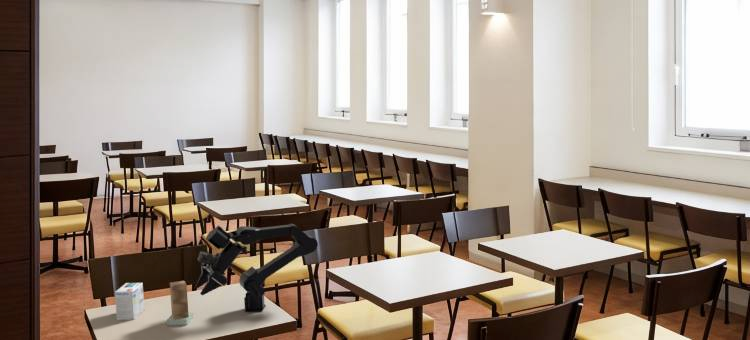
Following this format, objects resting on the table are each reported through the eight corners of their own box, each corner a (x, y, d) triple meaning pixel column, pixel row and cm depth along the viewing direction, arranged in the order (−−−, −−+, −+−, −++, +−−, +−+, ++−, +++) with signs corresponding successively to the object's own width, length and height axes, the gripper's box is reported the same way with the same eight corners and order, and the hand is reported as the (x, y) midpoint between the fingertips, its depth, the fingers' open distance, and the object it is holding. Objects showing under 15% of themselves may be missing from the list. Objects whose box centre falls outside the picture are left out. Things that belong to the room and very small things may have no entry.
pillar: (186, 312, 248) (184, 280, 247) (188, 317, 244) (186, 284, 242) (171, 315, 246) (169, 282, 245) (174, 319, 242) (171, 286, 240)
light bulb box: (127, 310, 259) (125, 282, 258) (145, 309, 259) (143, 282, 257) (116, 320, 248) (113, 291, 247) (134, 320, 248) (132, 291, 247)
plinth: (193, 318, 249) (193, 312, 248) (186, 325, 242) (186, 319, 241) (174, 318, 249) (173, 312, 249) (167, 325, 242) (167, 319, 242)
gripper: (205, 238, 255) (177, 271, 252) (215, 249, 238) (185, 285, 235) (227, 255, 259) (200, 288, 257) (239, 267, 243) (210, 303, 240)
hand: (198, 290), depth 247 cm, fingers open, 9 cm apart
